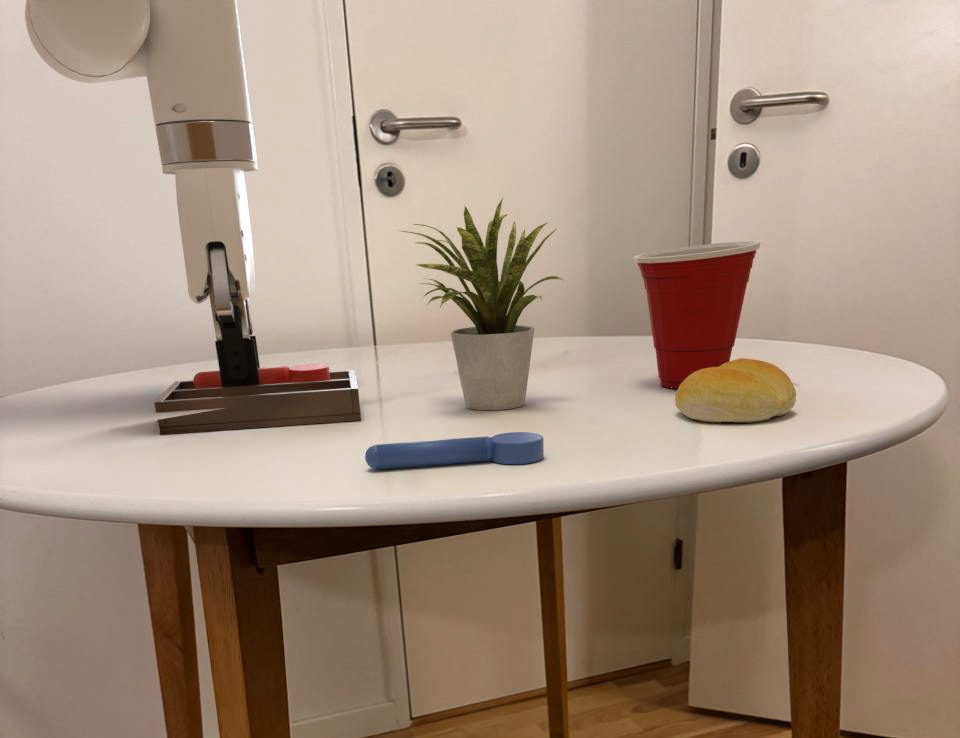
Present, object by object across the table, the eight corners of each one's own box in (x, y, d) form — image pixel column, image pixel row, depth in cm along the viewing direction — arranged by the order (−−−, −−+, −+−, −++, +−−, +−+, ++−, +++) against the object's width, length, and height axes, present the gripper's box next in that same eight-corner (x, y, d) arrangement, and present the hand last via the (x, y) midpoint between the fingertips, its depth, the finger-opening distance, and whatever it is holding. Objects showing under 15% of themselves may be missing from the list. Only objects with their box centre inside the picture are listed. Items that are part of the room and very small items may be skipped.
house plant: (412, 392, 89) (398, 203, 82) (556, 385, 89) (555, 196, 82) (407, 422, 76) (390, 200, 69) (576, 413, 76) (576, 191, 69)
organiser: (159, 435, 75) (153, 402, 74) (179, 410, 85) (174, 381, 84) (361, 420, 77) (358, 388, 76) (357, 398, 87) (354, 369, 86)
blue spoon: (367, 476, 60) (364, 451, 59) (365, 463, 63) (362, 440, 62) (548, 462, 61) (548, 438, 61) (537, 450, 64) (537, 427, 64)
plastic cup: (615, 380, 90) (617, 246, 85) (720, 372, 92) (728, 240, 87) (654, 399, 81) (658, 248, 76) (771, 389, 82) (783, 241, 77)
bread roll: (655, 416, 73) (656, 364, 72) (727, 400, 78) (730, 351, 77) (741, 430, 67) (745, 373, 66) (813, 412, 72) (819, 358, 71)
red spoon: (192, 394, 81) (189, 375, 80) (197, 387, 84) (194, 369, 83) (330, 384, 82) (328, 366, 81) (330, 378, 85) (328, 360, 85)
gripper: (174, 160, 82) (209, 375, 89) (142, 146, 68) (187, 404, 75) (261, 156, 83) (288, 370, 90) (248, 142, 68) (281, 397, 76)
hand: (242, 384), depth 83 cm, fingers closed on red spoon, 1 cm apart
